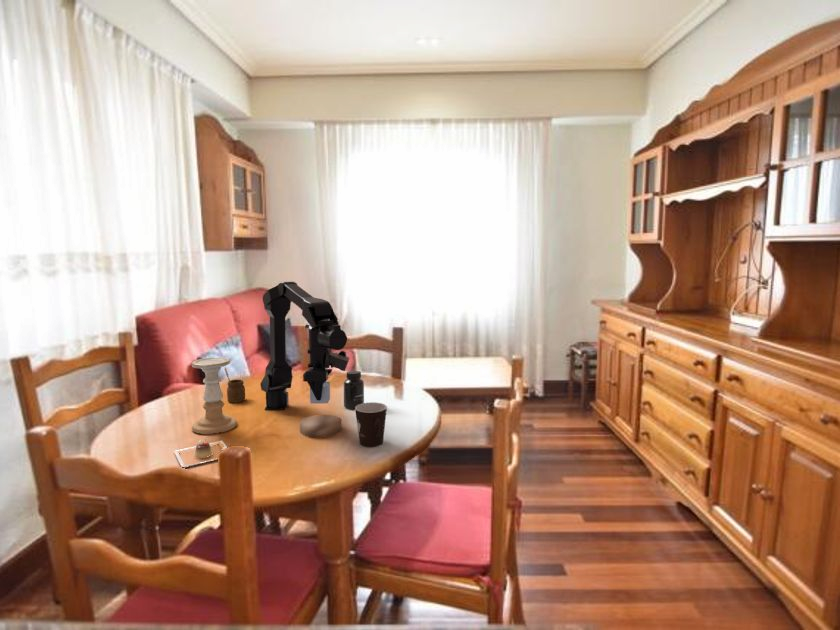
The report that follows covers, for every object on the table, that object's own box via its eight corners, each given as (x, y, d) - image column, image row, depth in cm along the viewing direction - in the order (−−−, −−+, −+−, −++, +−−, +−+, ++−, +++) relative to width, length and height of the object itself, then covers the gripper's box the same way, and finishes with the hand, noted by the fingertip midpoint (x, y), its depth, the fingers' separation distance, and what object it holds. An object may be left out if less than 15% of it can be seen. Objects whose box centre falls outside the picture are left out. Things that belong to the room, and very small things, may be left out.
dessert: (234, 459, 121) (233, 441, 120) (181, 471, 114) (180, 452, 113) (222, 444, 130) (221, 427, 130) (173, 454, 123) (172, 437, 123)
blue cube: (310, 403, 136) (309, 386, 135) (313, 398, 141) (312, 381, 140) (327, 403, 136) (327, 386, 136) (330, 398, 141) (329, 381, 141)
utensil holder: (244, 402, 165) (243, 368, 164) (225, 403, 164) (223, 369, 162) (246, 397, 171) (244, 364, 169) (227, 398, 169) (226, 365, 168)
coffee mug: (358, 436, 135) (357, 402, 133) (388, 436, 134) (388, 402, 133) (351, 453, 123) (350, 416, 122) (384, 453, 123) (383, 416, 121)
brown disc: (296, 437, 133) (296, 429, 133) (304, 422, 145) (303, 415, 145) (339, 436, 134) (339, 428, 134) (343, 422, 146) (343, 414, 146)
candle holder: (182, 431, 138) (177, 363, 136) (214, 417, 150) (211, 355, 147) (214, 437, 134) (211, 367, 131) (245, 423, 145) (242, 358, 143)
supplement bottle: (360, 410, 157) (359, 375, 155) (340, 409, 158) (340, 374, 157) (366, 404, 164) (366, 370, 162) (347, 402, 165) (347, 369, 163)
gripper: (343, 351, 128) (344, 407, 130) (349, 338, 146) (350, 388, 148) (302, 351, 127) (303, 408, 129) (313, 339, 145) (314, 388, 147)
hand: (320, 397), depth 138 cm, fingers closed on blue cube, 5 cm apart
